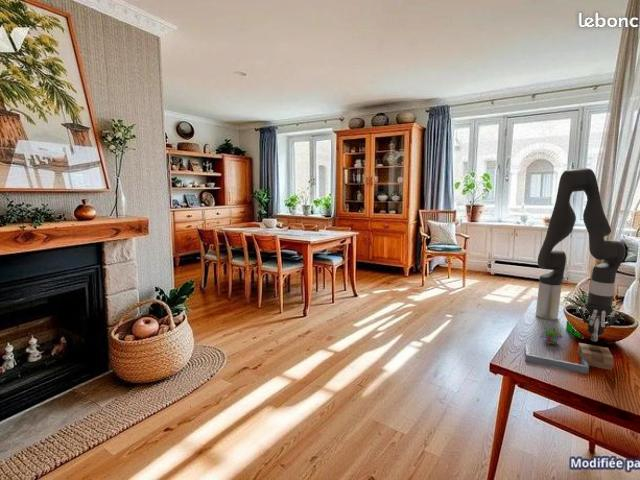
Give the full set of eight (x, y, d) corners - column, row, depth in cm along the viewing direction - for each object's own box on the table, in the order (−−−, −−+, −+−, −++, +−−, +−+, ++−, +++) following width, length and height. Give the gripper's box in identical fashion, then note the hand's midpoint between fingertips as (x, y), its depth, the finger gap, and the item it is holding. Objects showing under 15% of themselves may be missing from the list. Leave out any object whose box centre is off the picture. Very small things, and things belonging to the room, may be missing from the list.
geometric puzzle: (554, 346, 141) (561, 327, 142) (536, 339, 146) (543, 322, 148) (559, 352, 145) (566, 334, 146) (541, 345, 150) (548, 328, 152)
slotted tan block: (577, 353, 139) (578, 342, 138) (606, 359, 135) (607, 347, 134) (581, 364, 131) (582, 352, 130) (612, 370, 127) (613, 358, 126)
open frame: (524, 349, 143) (525, 343, 142) (582, 360, 134) (583, 354, 133) (525, 361, 133) (526, 354, 133) (588, 373, 125) (589, 367, 124)
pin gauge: (588, 337, 143) (592, 312, 141) (597, 339, 141) (601, 314, 139) (590, 340, 140) (594, 315, 138) (599, 342, 139) (603, 316, 137)
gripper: (621, 291, 137) (614, 333, 141) (577, 286, 143) (572, 327, 147) (627, 298, 131) (619, 341, 134) (580, 292, 137) (574, 334, 140)
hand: (594, 333), depth 140 cm, fingers closed on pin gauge, 2 cm apart
